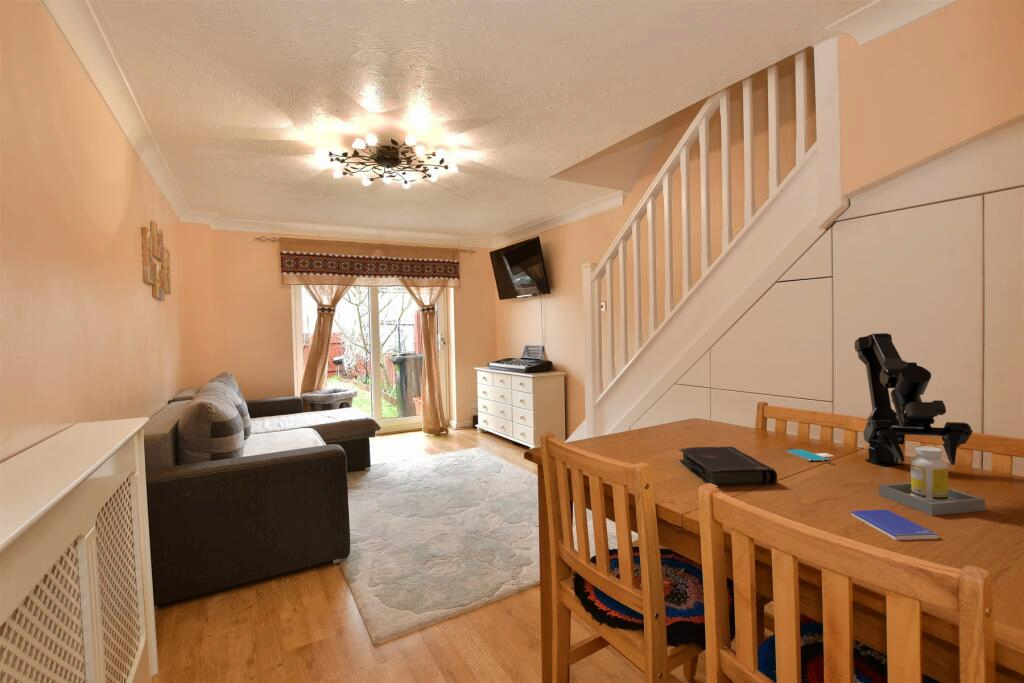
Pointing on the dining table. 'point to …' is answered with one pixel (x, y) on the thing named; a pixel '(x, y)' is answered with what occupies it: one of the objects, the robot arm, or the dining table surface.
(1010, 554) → the dining table surface
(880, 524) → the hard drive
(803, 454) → the teal flat slab
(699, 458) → the diary
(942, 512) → the holder tray
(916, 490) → the pill bottle
